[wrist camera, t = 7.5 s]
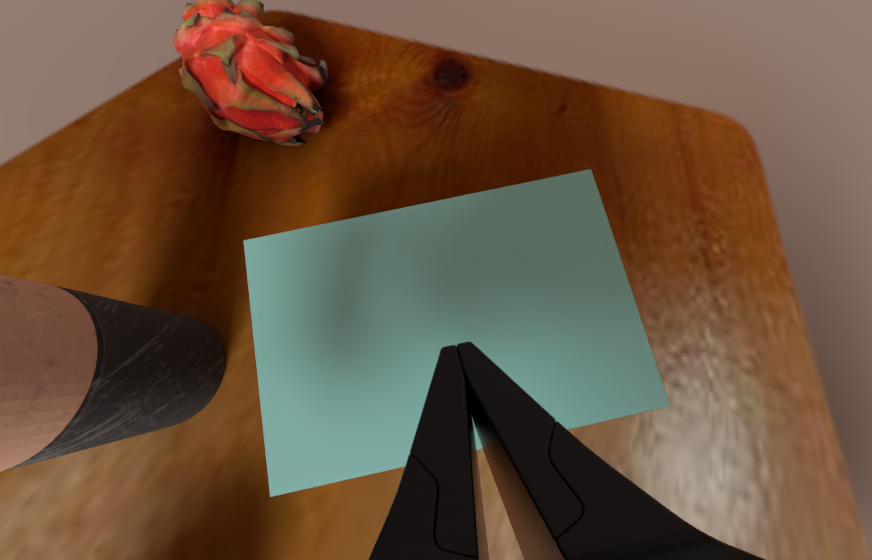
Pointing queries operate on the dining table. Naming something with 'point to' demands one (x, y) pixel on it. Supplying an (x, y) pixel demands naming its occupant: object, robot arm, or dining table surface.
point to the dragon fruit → (248, 72)
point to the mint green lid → (439, 322)
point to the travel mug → (94, 370)
